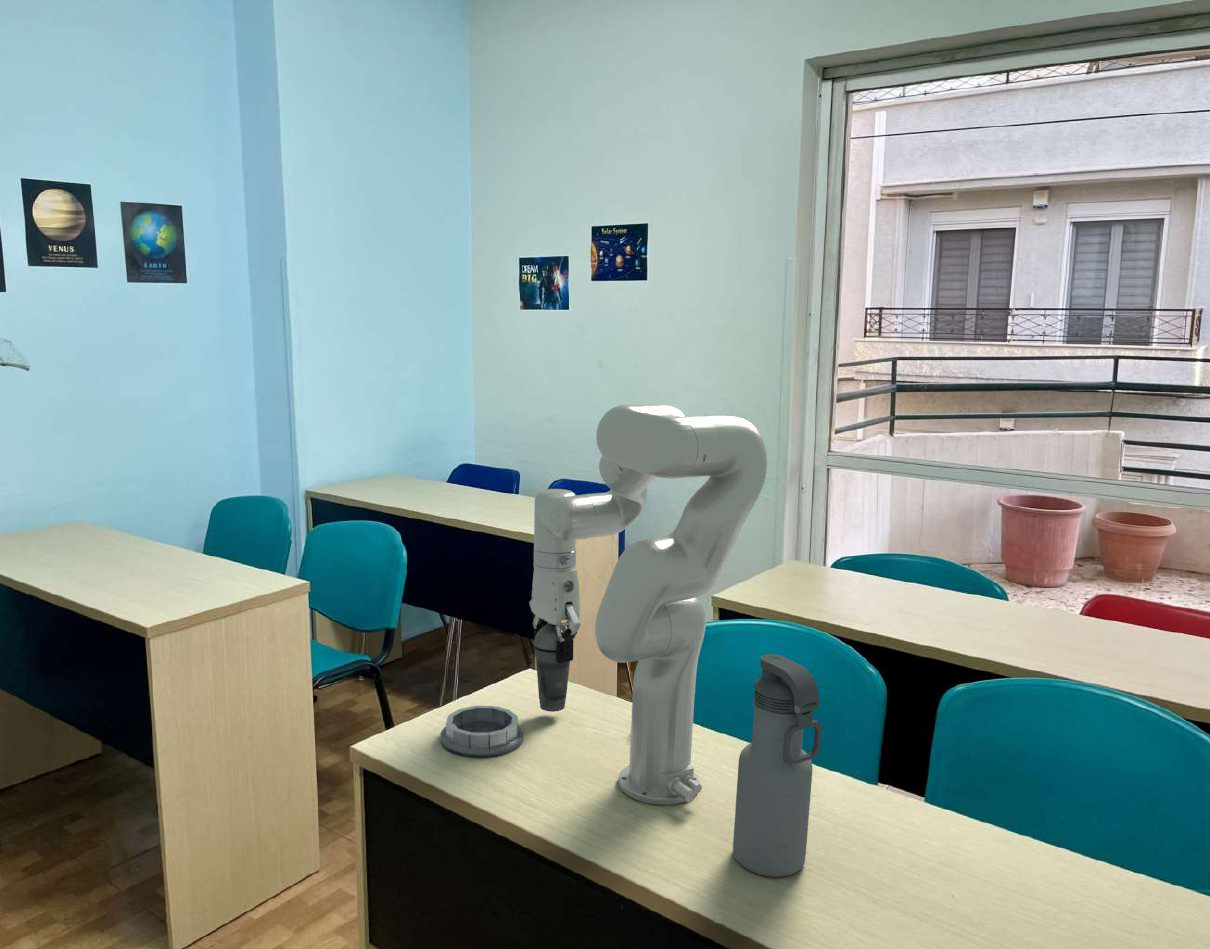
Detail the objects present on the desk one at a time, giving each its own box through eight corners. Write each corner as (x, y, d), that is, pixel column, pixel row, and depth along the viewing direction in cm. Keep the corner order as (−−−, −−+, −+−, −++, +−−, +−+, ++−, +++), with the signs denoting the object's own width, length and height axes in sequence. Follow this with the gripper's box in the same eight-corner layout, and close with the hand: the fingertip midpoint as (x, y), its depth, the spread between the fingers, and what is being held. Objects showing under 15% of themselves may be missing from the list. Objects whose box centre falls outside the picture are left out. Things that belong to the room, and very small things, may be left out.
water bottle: (822, 868, 125) (839, 669, 121) (768, 889, 120) (783, 683, 116) (770, 832, 134) (784, 645, 129) (717, 851, 128) (730, 657, 124)
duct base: (537, 746, 158) (538, 727, 157) (461, 764, 150) (462, 744, 150) (500, 716, 169) (500, 697, 169) (427, 731, 162) (427, 712, 161)
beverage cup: (567, 716, 165) (569, 606, 162) (527, 712, 167) (528, 603, 164) (576, 701, 172) (578, 596, 169) (538, 697, 174) (539, 593, 171)
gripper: (599, 566, 160) (596, 665, 163) (548, 547, 175) (547, 638, 177) (561, 571, 156) (559, 673, 159) (513, 551, 171) (512, 644, 173)
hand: (553, 654), depth 168 cm, fingers closed on beverage cup, 7 cm apart
